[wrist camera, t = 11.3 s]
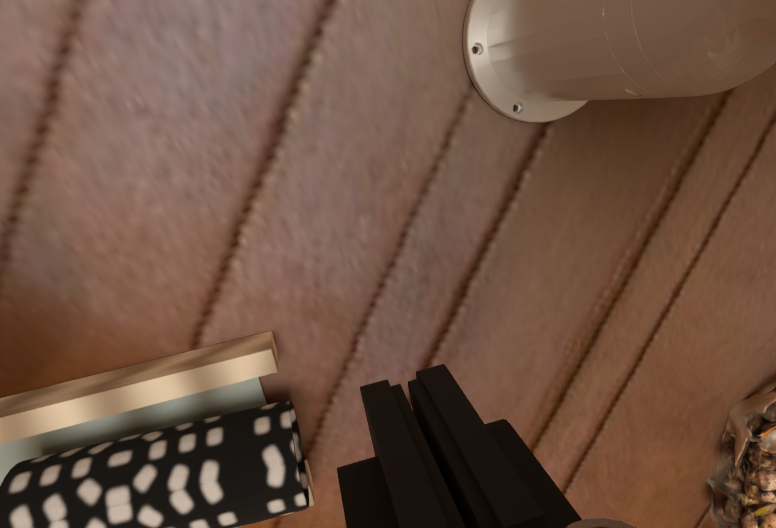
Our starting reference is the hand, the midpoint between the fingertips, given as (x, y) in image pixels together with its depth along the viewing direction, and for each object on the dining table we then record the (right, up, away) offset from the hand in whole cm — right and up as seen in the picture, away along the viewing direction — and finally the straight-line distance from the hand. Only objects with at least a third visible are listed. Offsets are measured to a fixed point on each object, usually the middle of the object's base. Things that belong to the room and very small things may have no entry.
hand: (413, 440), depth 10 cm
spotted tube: (-7, -12, +31) cm, 34 cm away
